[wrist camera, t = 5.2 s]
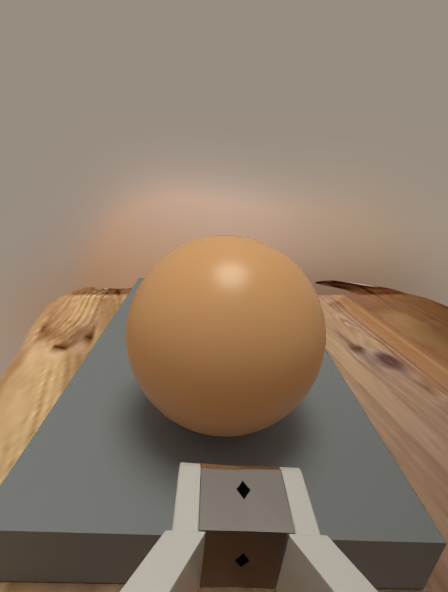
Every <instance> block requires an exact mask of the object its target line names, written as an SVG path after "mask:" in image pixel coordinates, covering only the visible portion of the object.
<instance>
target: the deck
mask: <svg viewBox="0 0 448 592" xmlns="http://www.w3.org/2000/svg"><path fill="white" fill-rule="evenodd" d="M143 279H144V278H139V279H138V281H137V282H136V284H135V285H134V287H133V288H132V290H131V291H130V293H129V294H128V296H127V297H126V299H125V300H124V302H123V303H122V305H121V306H120V308H119V309H118V311H117V312H116V314H115V315H114V317H113V318H112V320H111V321H110V323H109V324H108V326H107V327H106V329H105V330H104V332H103V333H102V335H101V336H100V338H99V339H98V341H97V342H96V344H95V345H94V347H93V348H92V350H91V351H90V353H89V354H88V356H87V357H86V359H85V360H84V362H83V363H82V365H81V366H80V368H79V369H78V370H77V372H76V373H75V375H74V376H73V378H72V379H71V381H70V382H69V384H68V385H67V387H66V388H65V390H64V391H63V393H62V394H61V396H60V397H59V399H58V400H57V402H56V403H55V405H54V406H53V408H52V409H51V411H50V412H49V414H48V415H47V417H46V418H45V420H44V421H43V423H42V424H41V426H40V427H39V429H38V430H37V432H36V433H35V435H34V436H33V438H32V439H31V441H30V442H29V444H28V445H27V447H26V448H25V450H24V451H23V453H22V454H21V456H20V457H19V459H18V460H17V462H16V463H15V465H14V466H13V468H12V469H11V471H10V472H9V474H8V475H7V477H6V478H5V480H4V481H3V483H2V484H1V486H0V581H14V582H69V583H123V584H126V583H127V581H128V580H129V579H130V577H131V576H132V575H133V573H134V572H135V571H136V569H137V568H138V567H139V565H140V564H141V562H142V561H143V560H144V558H145V557H146V556H147V554H148V553H149V552H150V550H151V549H152V548H153V546H154V545H155V544H156V542H157V541H158V540H159V538H160V537H161V536H162V534H163V533H164V532H165V530H172V527H173V518H174V509H175V500H176V491H177V482H178V473H179V466H180V463H181V462H185V463H200V465H201V463H204V464H217V465H231V466H271V467H278V468H279V467H290V468H299V469H300V470H301V472H302V475H303V478H304V481H305V485H306V488H307V491H308V495H309V498H310V501H311V504H312V508H313V511H314V514H315V518H316V521H317V524H318V528H319V531H320V534H321V535H327V536H328V537H329V538H330V539H331V540H332V541H333V542H334V543H335V545H336V546H337V547H338V548H339V549H340V550H341V551H342V552H343V553H344V555H345V556H346V557H347V558H348V559H349V560H350V561H351V562H352V563H353V564H354V566H355V567H356V568H357V569H358V570H359V571H360V572H361V573H362V574H363V576H364V577H365V578H366V579H367V580H368V581H369V582H370V583H371V584H372V585H373V587H374V588H394V589H423V588H424V586H425V584H426V582H427V580H428V578H429V576H430V574H431V573H432V571H433V569H434V567H435V565H436V563H437V561H438V559H439V557H440V555H441V553H442V551H443V549H444V547H445V545H446V541H445V540H444V538H443V536H442V535H441V533H440V532H439V530H438V528H437V527H436V525H435V524H434V522H433V520H432V519H431V517H430V516H429V514H428V512H427V511H426V509H425V508H424V506H423V504H422V503H421V501H420V500H419V498H418V496H417V495H416V493H415V492H414V490H413V488H412V487H411V485H410V484H409V482H408V480H407V479H406V477H405V476H404V474H403V472H402V471H401V469H400V468H399V466H398V464H397V463H396V461H395V460H394V458H393V456H392V455H391V453H390V452H389V450H388V448H387V447H386V445H385V444H384V442H383V440H382V439H381V437H380V436H379V434H378V432H377V431H376V429H375V428H374V426H373V424H372V423H371V421H370V420H369V418H368V416H367V415H366V413H365V412H364V410H363V408H362V407H361V405H360V404H359V402H358V400H357V399H356V397H355V396H354V394H353V392H352V391H351V389H350V388H349V386H348V384H347V383H346V381H345V380H344V378H343V376H342V375H341V373H340V372H339V370H338V368H337V367H336V365H335V364H334V362H333V360H332V359H331V357H330V356H329V354H328V352H327V351H326V349H325V351H324V357H323V361H322V365H321V368H320V371H319V374H318V376H317V378H316V380H315V382H314V384H313V386H312V388H311V389H310V391H309V393H308V394H307V395H306V397H305V398H304V399H303V400H302V402H301V403H300V404H299V405H298V406H297V407H296V408H295V409H294V410H293V411H292V412H291V413H290V414H288V415H287V416H286V417H284V418H283V419H282V420H280V421H278V422H277V423H275V424H273V425H271V426H269V427H268V428H265V429H263V430H260V431H257V432H253V433H250V434H246V435H240V436H230V437H221V436H211V435H205V434H201V433H198V432H194V431H192V430H189V429H187V428H184V427H183V426H181V425H179V424H177V423H175V422H173V421H172V420H170V419H169V418H167V417H166V416H164V415H163V414H162V413H161V412H160V411H159V410H158V409H157V408H156V407H155V406H154V405H153V404H152V403H151V402H150V401H149V400H148V398H147V397H146V396H145V394H144V393H143V391H142V390H141V388H140V387H139V385H138V383H137V381H136V379H135V377H134V374H133V372H132V370H131V366H130V362H129V358H128V354H127V347H126V324H127V318H128V313H129V309H130V306H131V303H132V300H133V297H134V295H135V292H136V291H137V289H138V287H139V285H140V283H141V282H142V280H143Z"/></svg>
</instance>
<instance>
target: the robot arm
mask: <svg viewBox="0 0 448 592" xmlns="http://www.w3.org/2000/svg"><path fill="white" fill-rule="evenodd" d="M200 587H246V588H265V589H275V592H378V591H377V590H376V589H375V588H374V587H373V585H372V584H371V583H370V582H369V581H368V580H367V579H366V578H365V577H364V576H363V574H362V573H361V572H360V571H359V570H358V569H357V568H356V567H355V566H354V564H353V563H352V562H351V561H350V560H349V559H348V558H347V557H346V556H345V555H344V553H343V552H342V551H341V550H340V549H339V548H338V547H337V546H336V545H335V543H334V542H333V541H332V540H331V539H330V538H329V537H328V536H327V535H321V534H320V531H319V528H318V524H317V521H316V518H315V514H314V511H313V508H312V504H311V501H310V498H309V495H308V491H307V488H306V485H305V481H304V478H303V475H302V472H301V470H300V469H299V468H290V467H279V468H278V467H271V466H231V465H217V464H204V463H201V465H200V463H185V462H181V463H180V466H179V473H178V482H177V491H176V500H175V509H174V518H173V527H172V530H165V532H164V533H163V534H162V536H161V537H160V538H159V540H158V541H157V542H156V544H155V545H154V546H153V548H152V549H151V550H150V552H149V553H148V554H147V556H146V557H145V558H144V560H143V561H142V562H141V564H140V565H139V567H138V568H137V569H136V571H135V572H134V573H133V575H132V576H131V577H130V579H129V580H128V581H127V583H126V584H125V585H124V587H123V588H122V589H121V591H120V592H199V588H200Z"/></svg>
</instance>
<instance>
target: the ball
mask: <svg viewBox="0 0 448 592" xmlns="http://www.w3.org/2000/svg"><path fill="white" fill-rule="evenodd" d="M325 345H326V330H325V321H324V314H323V311H322V307H321V304H320V301H319V298H318V296H317V294H316V292H315V290H314V288H313V286H312V284H311V283H310V281H309V280H308V278H307V277H306V275H305V274H304V273H303V271H302V270H301V269H300V268H299V267H298V266H297V265H296V264H295V263H294V262H293V261H292V260H291V259H289V258H288V257H287V256H286V255H285V254H283V253H282V252H280V251H278V250H277V249H275V248H274V247H272V246H270V245H268V244H265V243H263V242H260V241H258V240H255V239H251V238H246V237H241V236H233V235H217V236H211V237H205V238H200V239H197V240H194V241H191V242H188V243H186V244H184V245H182V246H180V247H178V248H176V249H175V250H173V251H171V252H170V253H168V254H167V255H166V256H164V257H163V258H162V259H160V260H159V261H158V262H157V263H156V264H155V265H154V266H153V267H152V268H151V270H150V271H149V272H148V274H147V275H146V276H145V277H144V279H143V280H142V282H141V283H140V285H139V287H138V289H137V291H136V292H135V295H134V297H133V300H132V303H131V306H130V309H129V313H128V318H127V324H126V347H127V354H128V358H129V362H130V366H131V370H132V372H133V374H134V377H135V379H136V381H137V383H138V385H139V387H140V388H141V390H142V391H143V393H144V394H145V396H146V397H147V398H148V400H149V401H150V402H151V403H152V404H153V405H154V406H155V407H156V408H157V409H158V410H159V411H160V412H161V413H162V414H163V415H164V416H166V417H167V418H169V419H170V420H172V421H173V422H175V423H177V424H179V425H181V426H183V427H184V428H187V429H189V430H192V431H194V432H198V433H201V434H205V435H211V436H221V437H230V436H240V435H246V434H250V433H253V432H257V431H260V430H263V429H265V428H268V427H269V426H271V425H273V424H275V423H277V422H278V421H280V420H282V419H283V418H284V417H286V416H287V415H288V414H290V413H291V412H292V411H293V410H294V409H295V408H296V407H297V406H298V405H299V404H300V403H301V402H302V400H303V399H304V398H305V397H306V395H307V394H308V393H309V391H310V389H311V388H312V386H313V384H314V382H315V380H316V378H317V376H318V374H319V371H320V368H321V365H322V361H323V357H324V351H325Z"/></svg>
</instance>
